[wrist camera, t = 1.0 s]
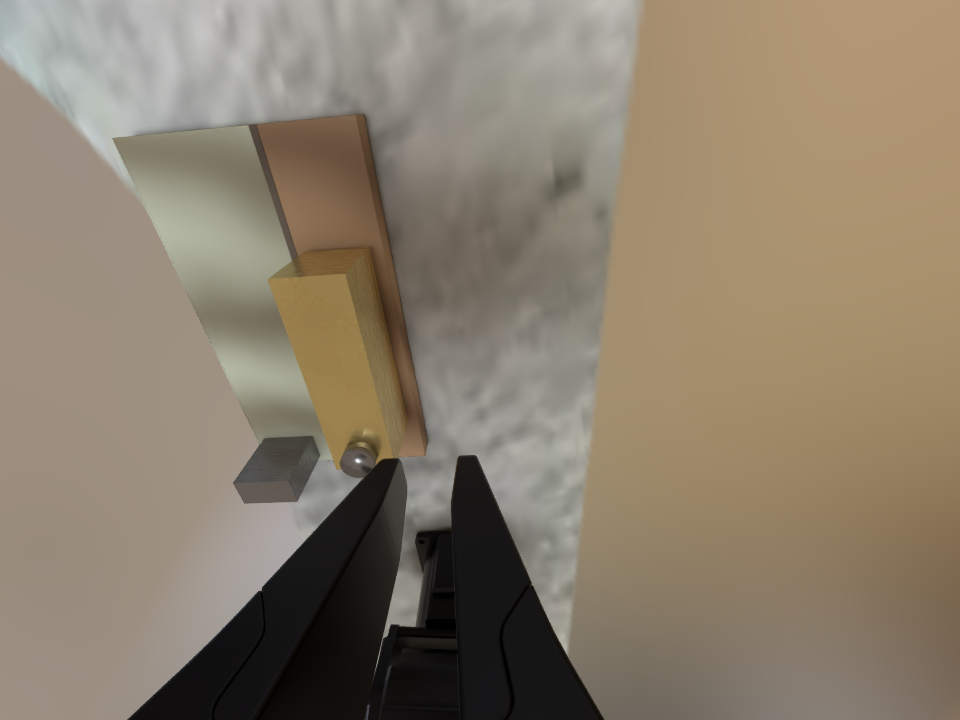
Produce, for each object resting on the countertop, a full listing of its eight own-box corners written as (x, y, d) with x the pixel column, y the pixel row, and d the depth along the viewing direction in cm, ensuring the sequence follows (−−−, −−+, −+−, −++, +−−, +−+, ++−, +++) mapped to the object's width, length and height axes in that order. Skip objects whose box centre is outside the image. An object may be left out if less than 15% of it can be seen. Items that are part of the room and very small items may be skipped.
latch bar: (407, 421, 23) (392, 479, 20) (356, 423, 24) (331, 481, 20) (369, 246, 18) (338, 281, 15) (303, 251, 18) (257, 286, 15)
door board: (427, 442, 26) (425, 456, 25) (276, 448, 27) (267, 462, 26) (363, 114, 17) (355, 114, 16) (134, 136, 18) (111, 138, 16)
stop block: (320, 455, 25) (297, 501, 22) (273, 457, 26) (244, 503, 23) (312, 435, 25) (287, 481, 22) (264, 438, 25) (233, 483, 22)
